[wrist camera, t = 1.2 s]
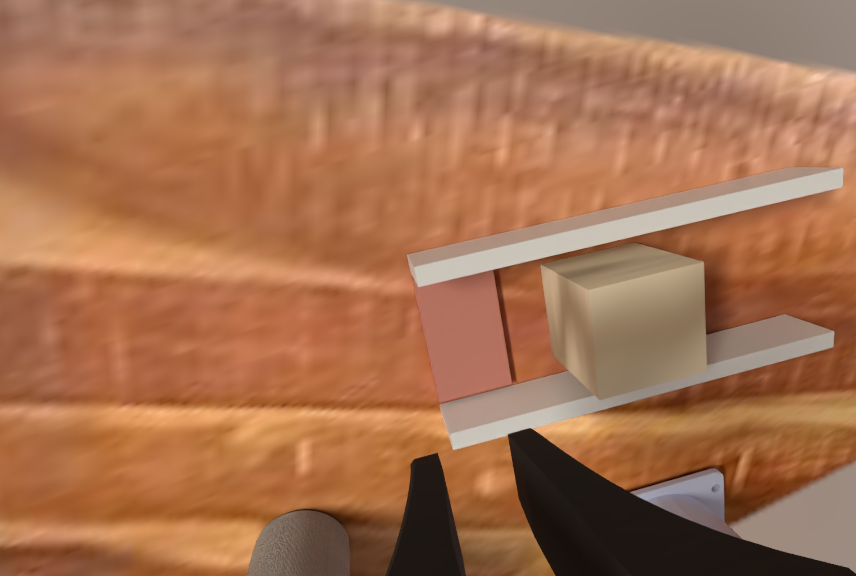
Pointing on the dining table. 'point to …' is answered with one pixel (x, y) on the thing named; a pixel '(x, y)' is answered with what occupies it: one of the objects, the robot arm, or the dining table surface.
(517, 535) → the dining table surface
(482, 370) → the pad
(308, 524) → the grey hollow tube
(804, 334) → the channel
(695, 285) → the block
